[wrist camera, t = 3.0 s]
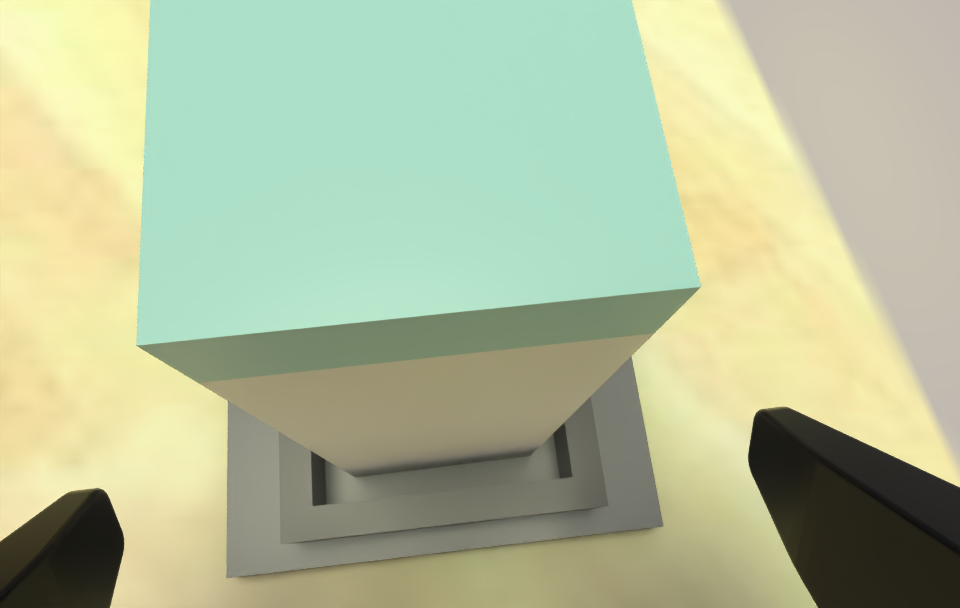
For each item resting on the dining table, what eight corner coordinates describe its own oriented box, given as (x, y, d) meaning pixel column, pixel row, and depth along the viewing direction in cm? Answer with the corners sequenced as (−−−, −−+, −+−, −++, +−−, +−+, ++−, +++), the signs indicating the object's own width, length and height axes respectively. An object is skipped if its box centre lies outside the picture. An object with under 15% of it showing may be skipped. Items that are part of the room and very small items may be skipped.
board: (653, 527, 20) (686, 525, 17) (237, 576, 19) (200, 583, 16) (554, -12, 26) (567, -79, 23) (239, 6, 25) (213, -61, 22)
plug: (530, 456, 19) (701, 286, 6) (355, 477, 19) (136, 344, 6) (506, 293, 21) (602, -120, 8) (344, 310, 21) (154, -96, 7)
